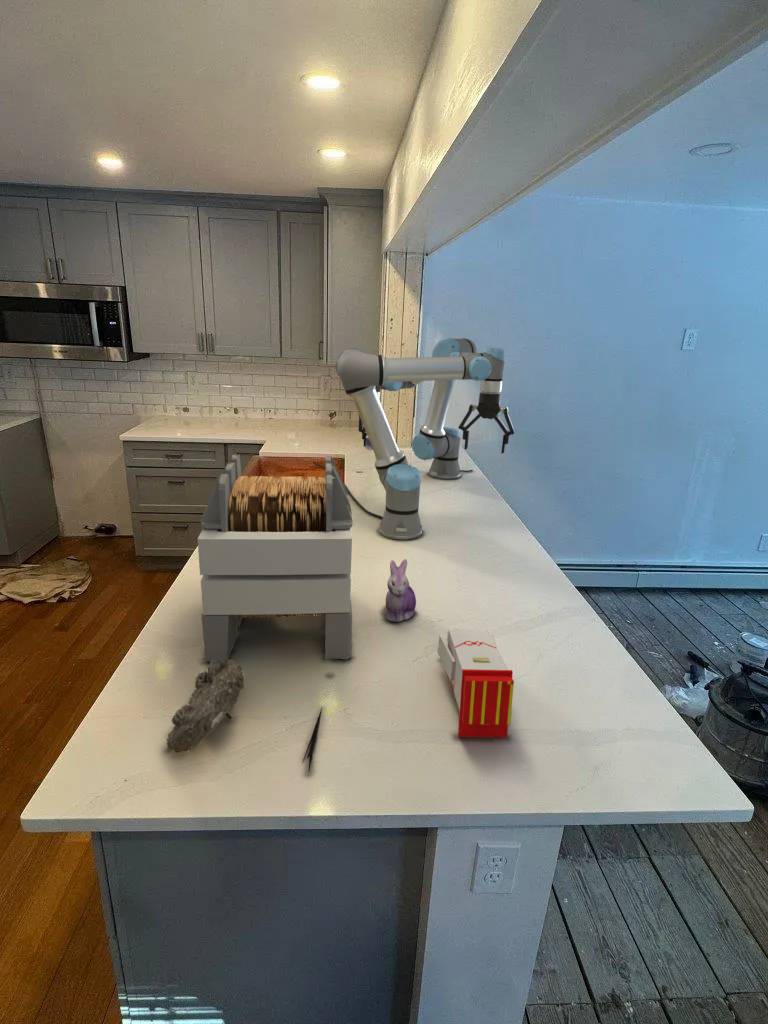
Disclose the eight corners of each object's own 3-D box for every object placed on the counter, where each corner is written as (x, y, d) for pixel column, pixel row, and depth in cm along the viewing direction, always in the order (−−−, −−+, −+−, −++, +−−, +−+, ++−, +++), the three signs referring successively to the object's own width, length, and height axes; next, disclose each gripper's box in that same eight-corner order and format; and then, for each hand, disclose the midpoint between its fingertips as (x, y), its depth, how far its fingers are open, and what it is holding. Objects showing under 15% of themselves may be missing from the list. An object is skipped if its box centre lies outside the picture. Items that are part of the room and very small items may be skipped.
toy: (488, 613, 130) (523, 677, 101) (484, 667, 133) (517, 744, 104) (435, 612, 130) (455, 676, 101) (432, 666, 133) (451, 743, 103)
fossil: (192, 660, 117) (244, 628, 112) (224, 691, 120) (276, 661, 115) (142, 746, 98) (202, 712, 93) (182, 779, 101) (242, 748, 96)
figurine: (392, 627, 141) (395, 572, 136) (374, 608, 149) (376, 556, 144) (425, 619, 145) (429, 566, 140) (405, 601, 154) (408, 550, 149)
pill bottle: (373, 450, 282) (374, 432, 279) (363, 449, 283) (364, 431, 280) (377, 448, 286) (377, 431, 283) (367, 447, 288) (368, 429, 285)
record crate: (225, 590, 155) (217, 445, 141) (345, 589, 159) (348, 447, 145) (202, 664, 123) (188, 485, 110) (352, 660, 127) (356, 487, 113)
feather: (331, 679, 122) (336, 673, 122) (307, 777, 96) (313, 769, 95) (324, 675, 122) (329, 669, 121) (298, 772, 95) (304, 764, 95)
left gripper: (526, 394, 202) (519, 452, 210) (457, 388, 209) (453, 444, 216) (525, 396, 196) (517, 456, 203) (453, 390, 202) (449, 448, 210)
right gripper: (392, 400, 277) (390, 447, 285) (357, 397, 282) (356, 443, 290) (387, 402, 271) (385, 450, 278) (352, 399, 276) (351, 446, 284)
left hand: (484, 450), depth 210 cm, fingers open, 13 cm apart
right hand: (370, 446), depth 284 cm, fingers closed on pill bottle, 5 cm apart
